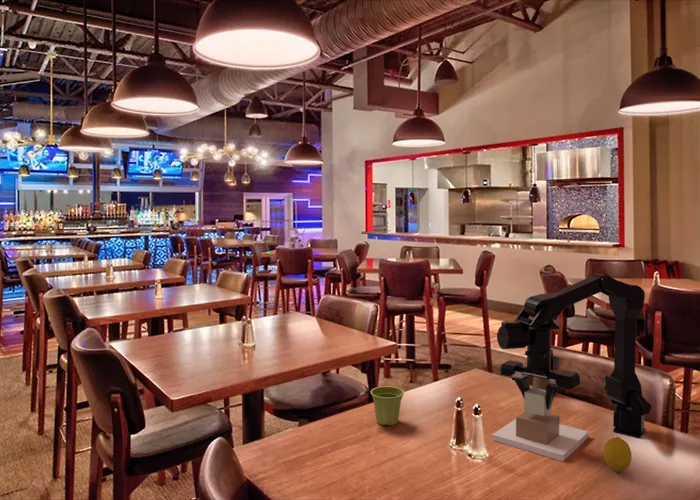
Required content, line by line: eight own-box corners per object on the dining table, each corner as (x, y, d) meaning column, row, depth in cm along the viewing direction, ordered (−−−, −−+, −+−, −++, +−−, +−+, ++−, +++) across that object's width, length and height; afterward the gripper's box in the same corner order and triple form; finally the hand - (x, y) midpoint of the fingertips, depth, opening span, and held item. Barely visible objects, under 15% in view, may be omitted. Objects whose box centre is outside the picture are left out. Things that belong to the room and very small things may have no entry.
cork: (554, 395, 170) (554, 362, 169) (535, 395, 170) (535, 362, 169) (547, 389, 176) (548, 356, 175) (529, 389, 176) (529, 357, 175)
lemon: (628, 467, 121) (629, 433, 121) (632, 479, 116) (633, 443, 116) (602, 464, 123) (602, 430, 123) (605, 475, 118) (606, 440, 117)
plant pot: (411, 422, 149) (411, 392, 148) (385, 431, 143) (385, 399, 142) (389, 413, 156) (388, 384, 155) (364, 420, 150) (363, 390, 150)
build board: (588, 437, 138) (588, 412, 138) (562, 461, 125) (563, 434, 124) (522, 419, 150) (522, 397, 150) (492, 440, 137) (492, 415, 136)
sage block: (551, 410, 136) (551, 391, 135) (543, 416, 132) (544, 396, 132) (532, 405, 139) (532, 387, 139) (524, 411, 135) (524, 392, 135)
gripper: (588, 346, 134) (586, 406, 135) (517, 335, 147) (516, 391, 148) (572, 355, 126) (571, 419, 127) (499, 343, 138) (498, 401, 139)
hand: (538, 406), depth 135 cm, fingers closed on sage block, 5 cm apart
